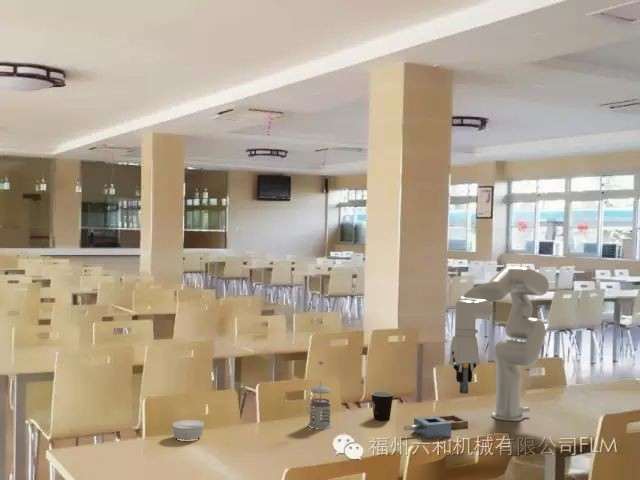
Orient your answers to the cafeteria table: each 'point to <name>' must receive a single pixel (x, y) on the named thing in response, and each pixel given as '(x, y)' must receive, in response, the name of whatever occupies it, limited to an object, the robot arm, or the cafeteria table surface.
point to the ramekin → (188, 429)
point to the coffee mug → (382, 405)
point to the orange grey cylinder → (465, 379)
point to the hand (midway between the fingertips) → (464, 381)
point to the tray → (455, 421)
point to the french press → (320, 408)
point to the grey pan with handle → (431, 427)
